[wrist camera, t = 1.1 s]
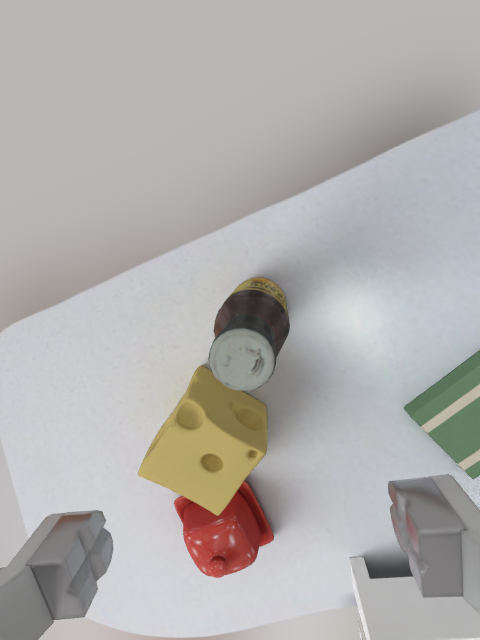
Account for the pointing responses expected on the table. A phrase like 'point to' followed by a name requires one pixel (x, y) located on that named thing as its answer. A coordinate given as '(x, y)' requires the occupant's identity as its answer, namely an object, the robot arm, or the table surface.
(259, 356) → the sauce bottle
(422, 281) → the table surface
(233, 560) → the butter dish
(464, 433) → the towel
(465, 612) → the paper towel holder
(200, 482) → the cheese
